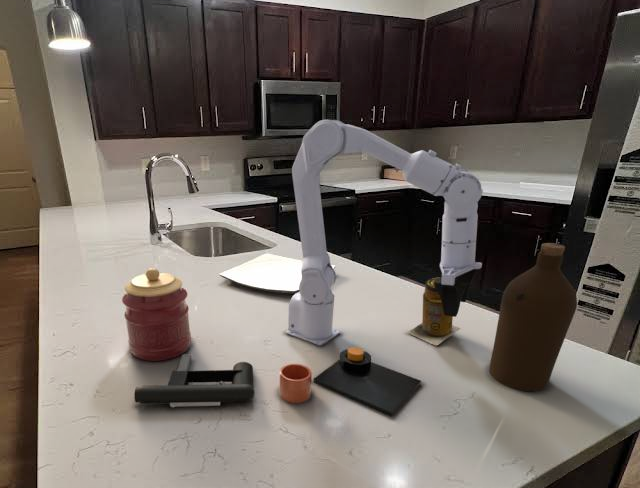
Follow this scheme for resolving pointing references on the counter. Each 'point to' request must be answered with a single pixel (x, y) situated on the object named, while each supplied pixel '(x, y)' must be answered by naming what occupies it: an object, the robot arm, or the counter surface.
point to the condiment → (433, 318)
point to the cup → (295, 383)
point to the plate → (268, 274)
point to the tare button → (355, 354)
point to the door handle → (200, 386)
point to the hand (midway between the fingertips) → (455, 308)
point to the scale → (368, 383)
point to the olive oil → (533, 323)
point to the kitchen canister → (156, 316)
